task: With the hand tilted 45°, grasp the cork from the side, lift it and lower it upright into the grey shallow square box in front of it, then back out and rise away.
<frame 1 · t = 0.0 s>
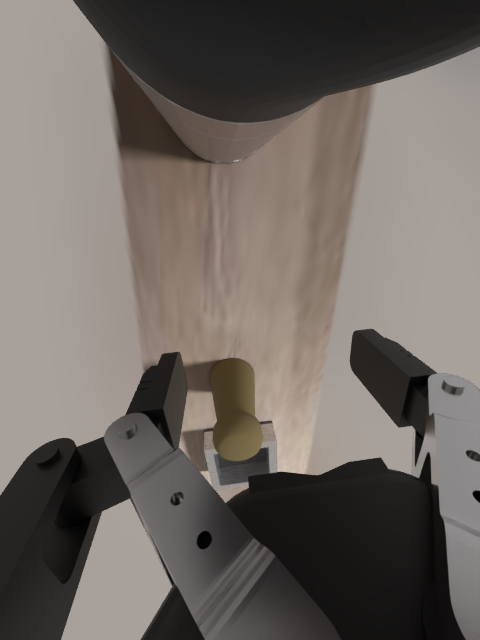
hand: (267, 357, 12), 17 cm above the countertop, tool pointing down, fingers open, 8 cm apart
grey shallow square box: (241, 446, 41), on the countertop
cork: (232, 375, 34), on the countertop
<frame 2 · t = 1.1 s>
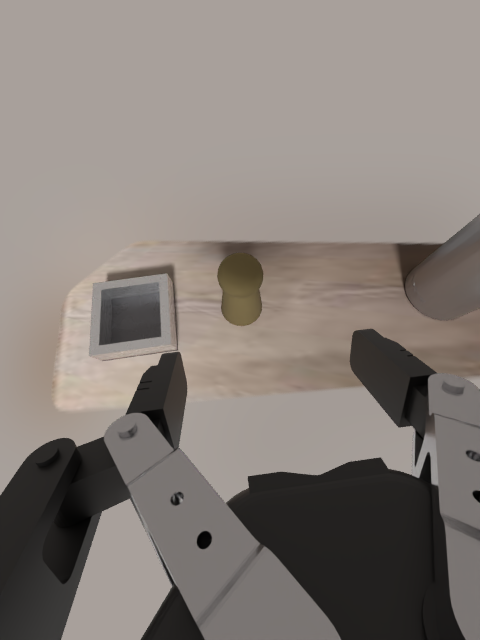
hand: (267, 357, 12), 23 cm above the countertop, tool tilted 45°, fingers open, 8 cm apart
grey shallow square box: (140, 320, 37), on the countertop
cork: (241, 307, 38), on the countertop
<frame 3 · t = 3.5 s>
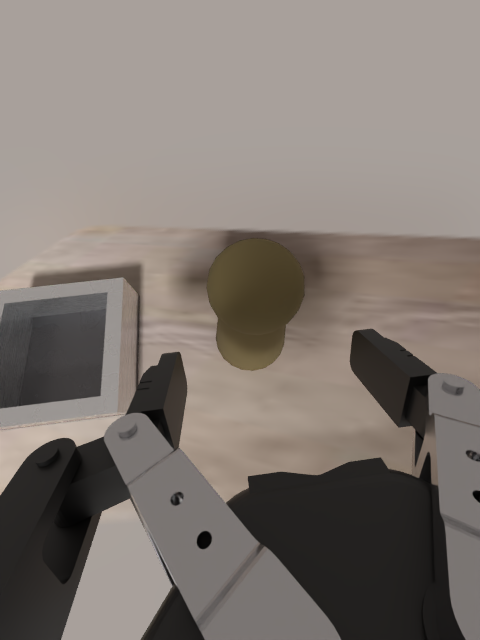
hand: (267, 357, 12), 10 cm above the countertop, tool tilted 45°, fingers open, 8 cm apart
grey shallow square box: (77, 356, 22), on the countertop
cork: (250, 336, 23), on the countertop
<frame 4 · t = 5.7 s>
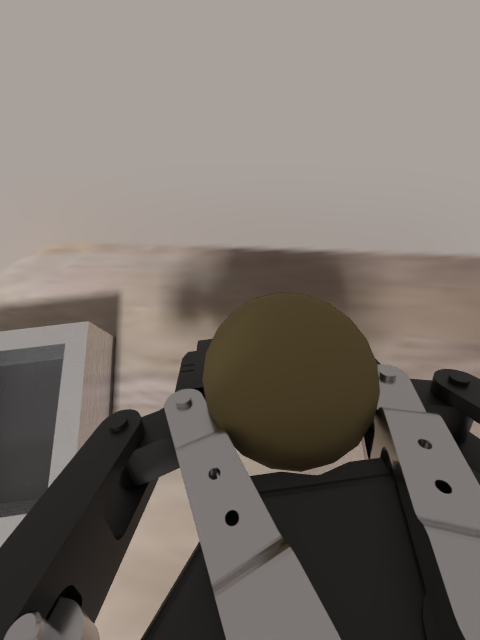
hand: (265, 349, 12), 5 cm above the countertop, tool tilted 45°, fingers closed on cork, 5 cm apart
grey shallow square box: (28, 425, 16), on the countertop
cork: (262, 395, 17), on the countertop, touching gripper
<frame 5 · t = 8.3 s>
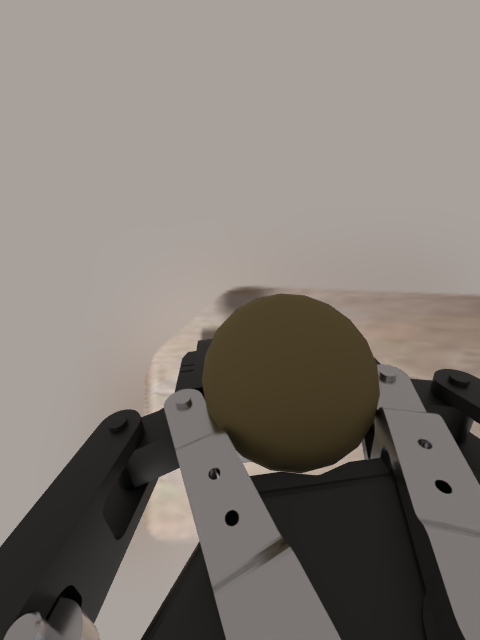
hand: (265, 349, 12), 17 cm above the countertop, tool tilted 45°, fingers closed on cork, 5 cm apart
cork: (262, 396, 17), point 12 cm above the countertop, touching gripper
when the fingers open (7 cm above the countertop, at t = 11.0 s): cork drops 1 cm, resting on grey shallow square box.
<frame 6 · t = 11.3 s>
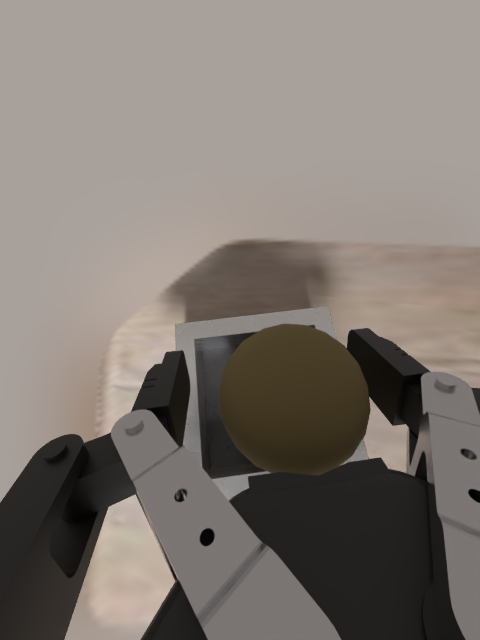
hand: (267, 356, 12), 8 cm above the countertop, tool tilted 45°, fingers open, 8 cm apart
grey shallow square box: (260, 398, 18), on the countertop
cork: (267, 403, 18), resting on grey shallow square box
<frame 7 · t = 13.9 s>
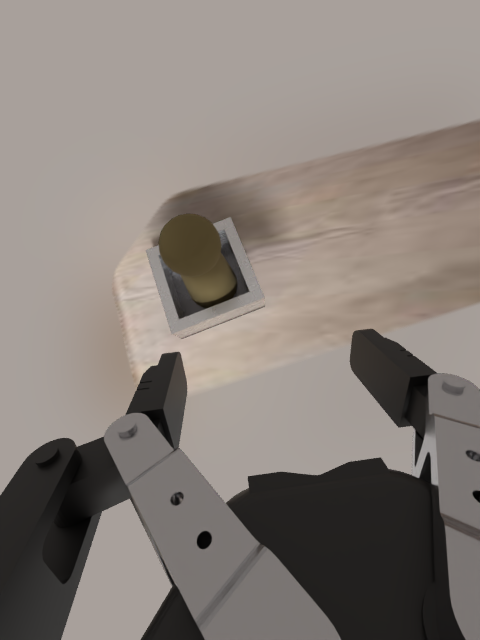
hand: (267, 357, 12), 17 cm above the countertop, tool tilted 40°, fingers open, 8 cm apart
grey shallow square box: (209, 284, 31), on the countertop
cork: (212, 285, 31), resting on grey shallow square box
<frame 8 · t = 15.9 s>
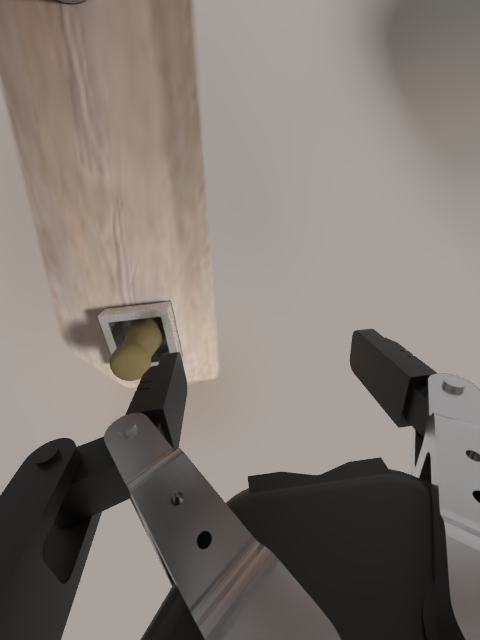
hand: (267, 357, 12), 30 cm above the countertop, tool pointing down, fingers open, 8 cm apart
grey shallow square box: (146, 332, 43), on the countertop
cork: (148, 330, 43), resting on grey shallow square box
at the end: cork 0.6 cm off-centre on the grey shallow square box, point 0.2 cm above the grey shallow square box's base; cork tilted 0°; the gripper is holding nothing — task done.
